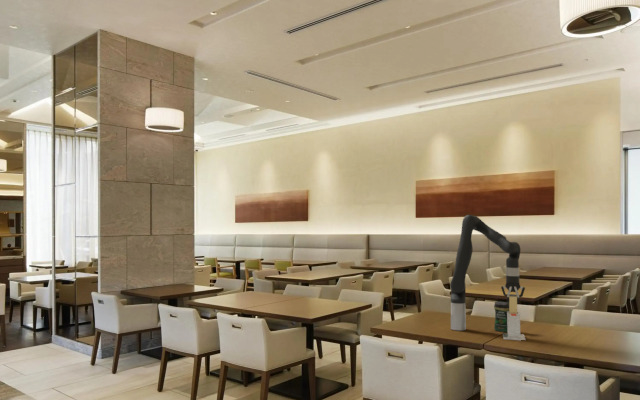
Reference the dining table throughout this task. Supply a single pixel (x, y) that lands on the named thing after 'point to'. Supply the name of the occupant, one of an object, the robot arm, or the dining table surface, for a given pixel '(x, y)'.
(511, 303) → the post
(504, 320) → the coffee jar
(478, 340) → the dining table surface
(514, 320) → the stand
